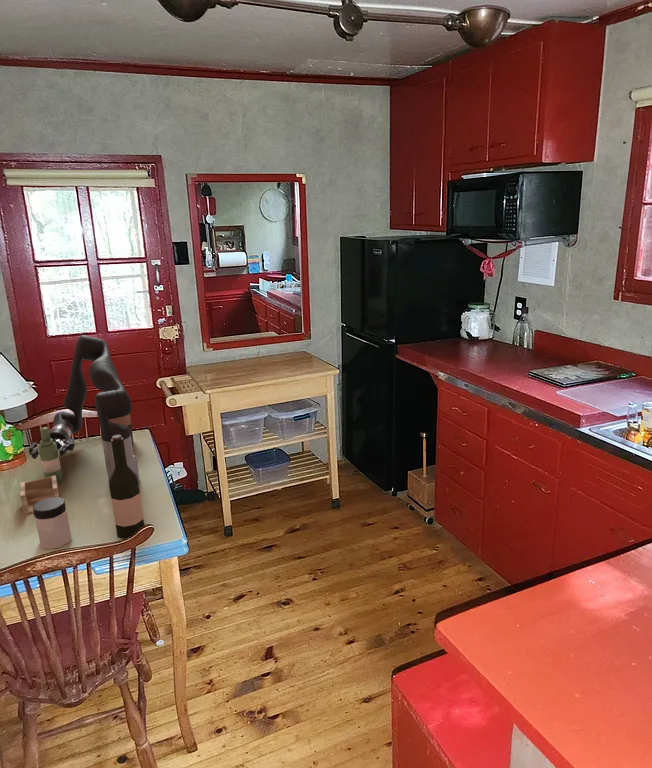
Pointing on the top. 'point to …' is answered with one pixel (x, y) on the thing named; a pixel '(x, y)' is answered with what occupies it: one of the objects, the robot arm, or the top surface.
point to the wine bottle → (124, 493)
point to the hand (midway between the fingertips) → (47, 454)
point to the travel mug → (124, 423)
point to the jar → (52, 523)
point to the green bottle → (49, 456)
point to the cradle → (37, 492)
